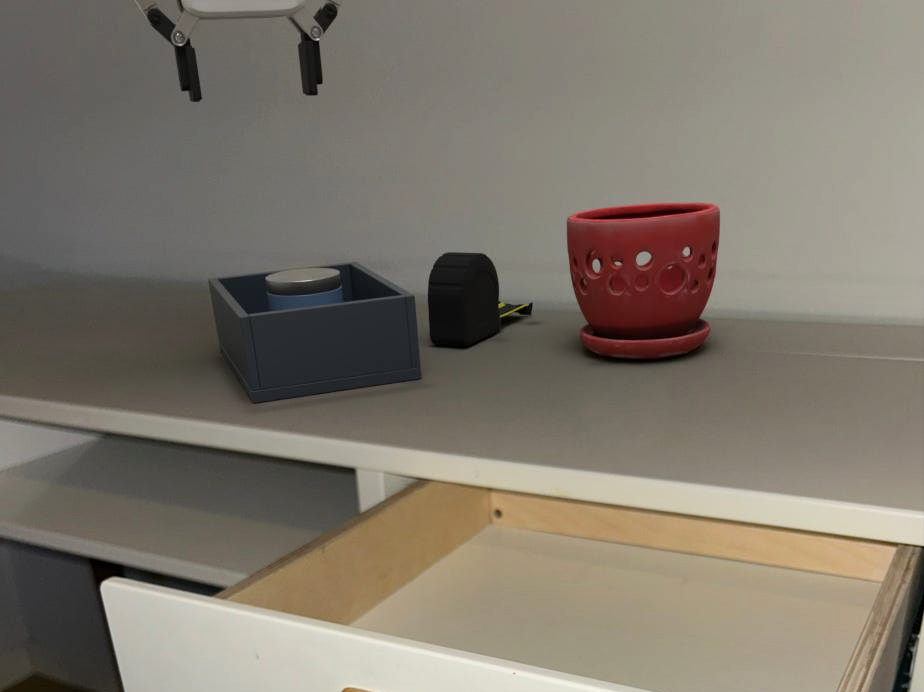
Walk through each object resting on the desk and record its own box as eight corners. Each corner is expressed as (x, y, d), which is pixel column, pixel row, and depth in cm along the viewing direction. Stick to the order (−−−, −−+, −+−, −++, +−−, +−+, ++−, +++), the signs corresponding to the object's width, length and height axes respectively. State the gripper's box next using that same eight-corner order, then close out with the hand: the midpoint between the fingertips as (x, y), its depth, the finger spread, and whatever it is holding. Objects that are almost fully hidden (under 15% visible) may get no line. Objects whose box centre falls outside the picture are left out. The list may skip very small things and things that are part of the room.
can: (283, 366, 95) (271, 284, 91) (270, 350, 100) (259, 273, 97) (356, 356, 97) (347, 275, 93) (340, 341, 102) (331, 265, 99)
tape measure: (466, 349, 101) (460, 260, 97) (426, 346, 102) (419, 259, 99) (533, 316, 112) (530, 235, 108) (496, 314, 114) (492, 235, 110)
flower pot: (730, 335, 100) (738, 197, 94) (690, 371, 89) (695, 218, 84) (599, 329, 105) (598, 198, 99) (546, 362, 95) (542, 218, 89)
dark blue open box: (253, 403, 88) (239, 317, 85) (220, 351, 106) (207, 278, 102) (421, 378, 92) (414, 295, 89) (363, 332, 109) (355, 261, 106)
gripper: (323, -143, 87) (344, 92, 95) (103, -145, 83) (145, 103, 91) (343, -160, 81) (364, 93, 89) (106, -163, 76) (151, 104, 84)
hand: (254, 98), depth 90 cm, fingers open, 9 cm apart
